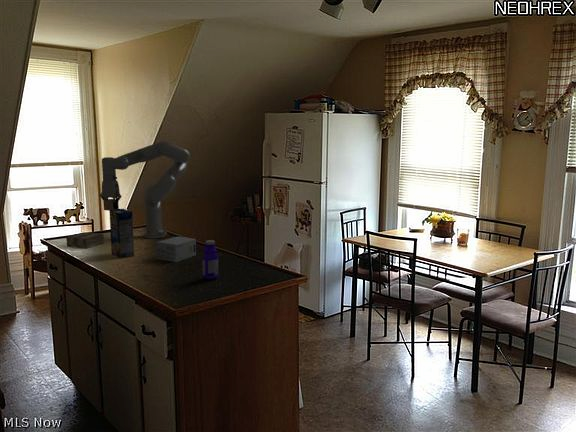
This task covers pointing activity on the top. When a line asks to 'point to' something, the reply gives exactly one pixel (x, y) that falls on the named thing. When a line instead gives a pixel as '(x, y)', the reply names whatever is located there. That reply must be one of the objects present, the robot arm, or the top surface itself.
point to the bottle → (210, 261)
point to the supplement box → (175, 249)
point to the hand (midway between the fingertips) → (111, 208)
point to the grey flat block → (85, 240)
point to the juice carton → (121, 233)
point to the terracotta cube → (109, 204)
